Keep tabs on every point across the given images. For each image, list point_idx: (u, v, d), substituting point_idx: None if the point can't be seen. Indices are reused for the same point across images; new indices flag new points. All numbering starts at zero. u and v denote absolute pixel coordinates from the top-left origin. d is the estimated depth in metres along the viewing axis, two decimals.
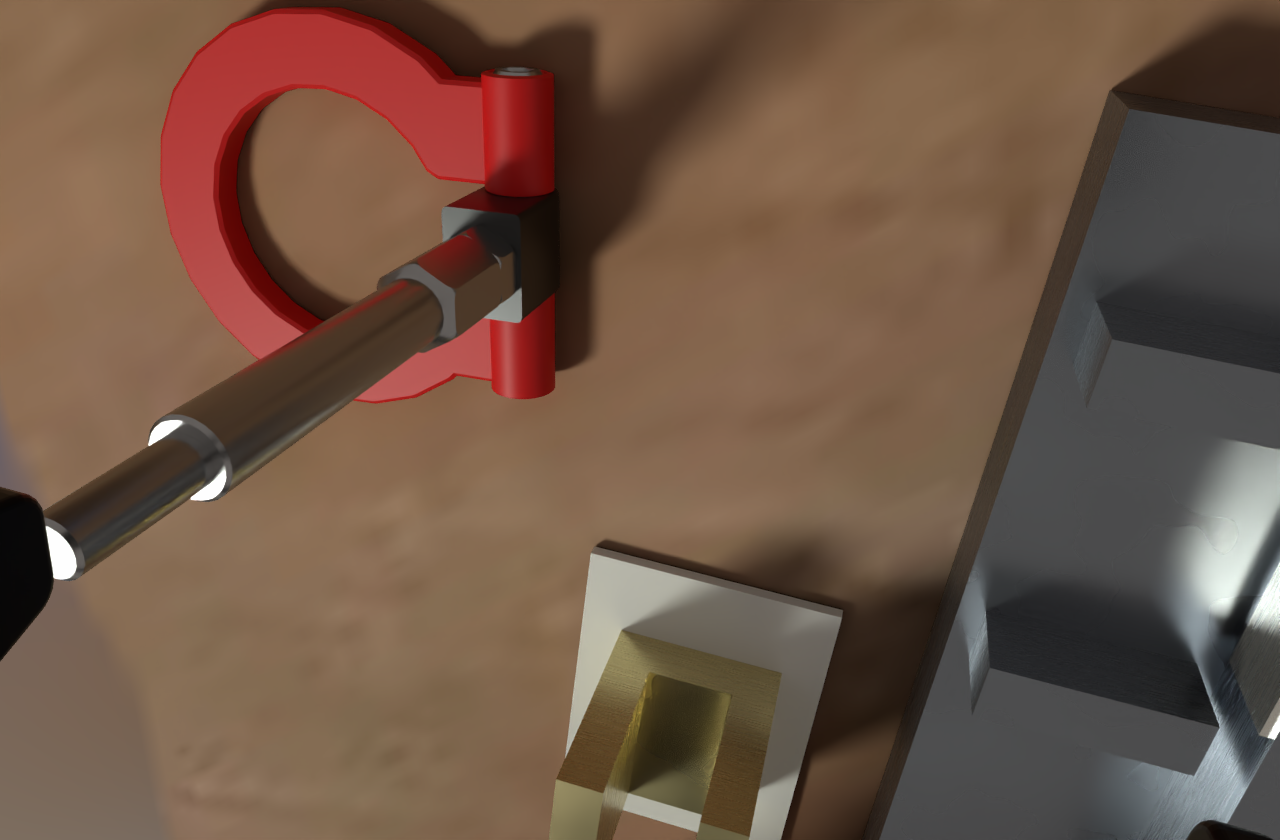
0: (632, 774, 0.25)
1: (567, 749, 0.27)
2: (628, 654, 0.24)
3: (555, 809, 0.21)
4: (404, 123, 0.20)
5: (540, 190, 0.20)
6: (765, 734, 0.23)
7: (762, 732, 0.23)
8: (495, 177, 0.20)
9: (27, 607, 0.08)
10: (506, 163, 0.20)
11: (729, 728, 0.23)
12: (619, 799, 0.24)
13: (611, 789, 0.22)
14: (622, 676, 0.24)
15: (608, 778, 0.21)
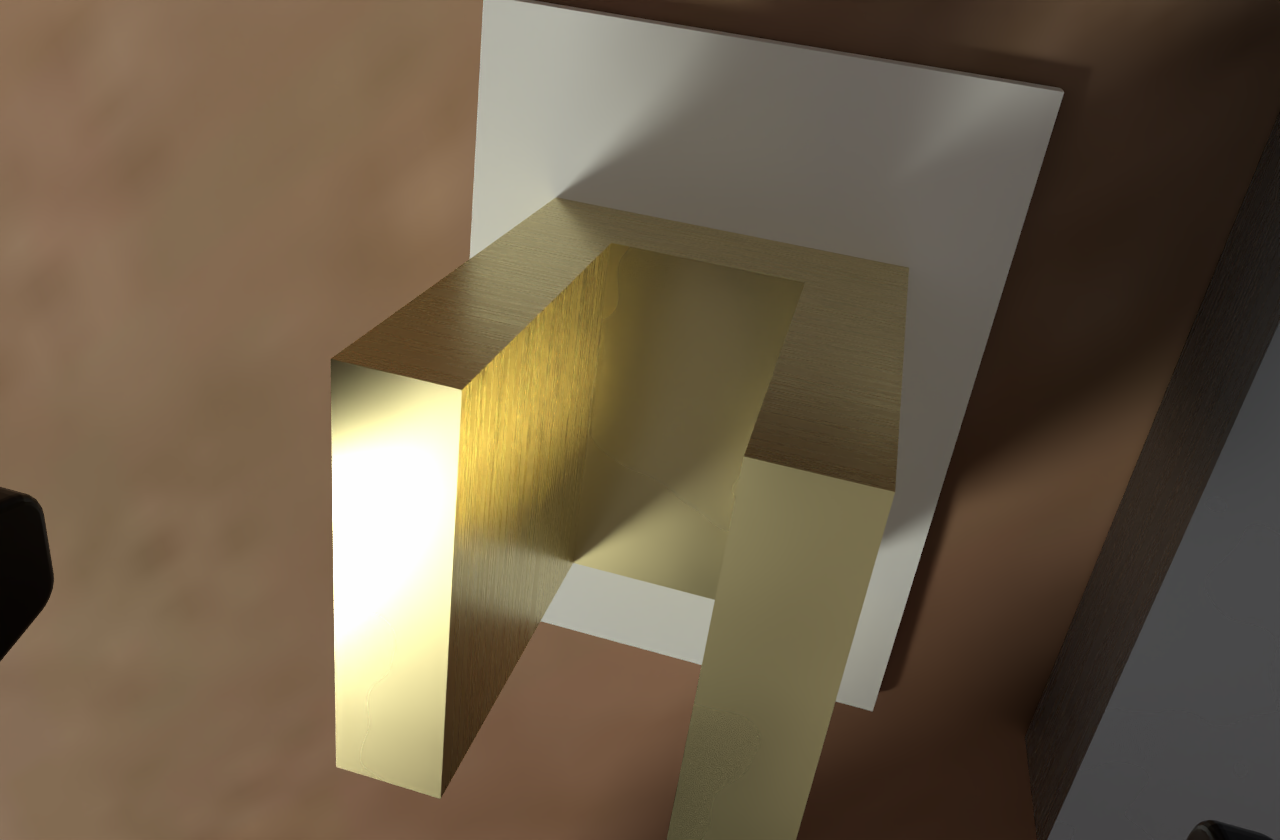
0: (580, 516, 0.12)
1: None
2: (565, 220, 0.11)
3: (339, 462, 0.08)
4: None
5: None
6: (894, 335, 0.09)
7: (886, 331, 0.09)
8: None
9: (27, 607, 0.08)
10: None
11: (805, 322, 0.09)
12: (543, 537, 0.10)
13: (504, 443, 0.08)
14: (548, 242, 0.10)
15: (483, 368, 0.07)
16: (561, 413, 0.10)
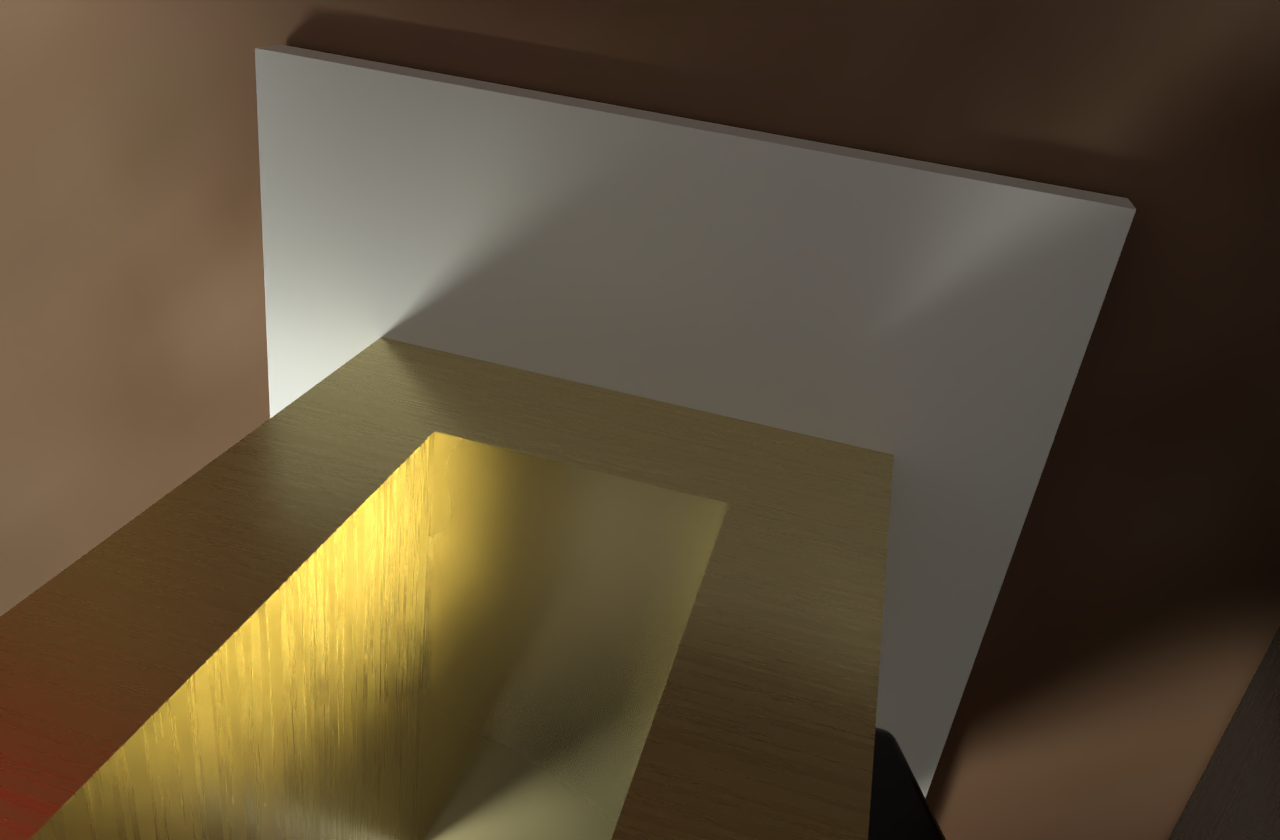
0: (421, 792, 0.08)
1: None
2: (378, 386, 0.07)
3: None
4: None
5: None
6: (863, 629, 0.05)
7: (851, 622, 0.05)
8: None
9: None
10: None
11: (716, 606, 0.05)
12: None
13: None
14: (330, 437, 0.07)
15: (48, 819, 0.04)
16: (344, 712, 0.06)
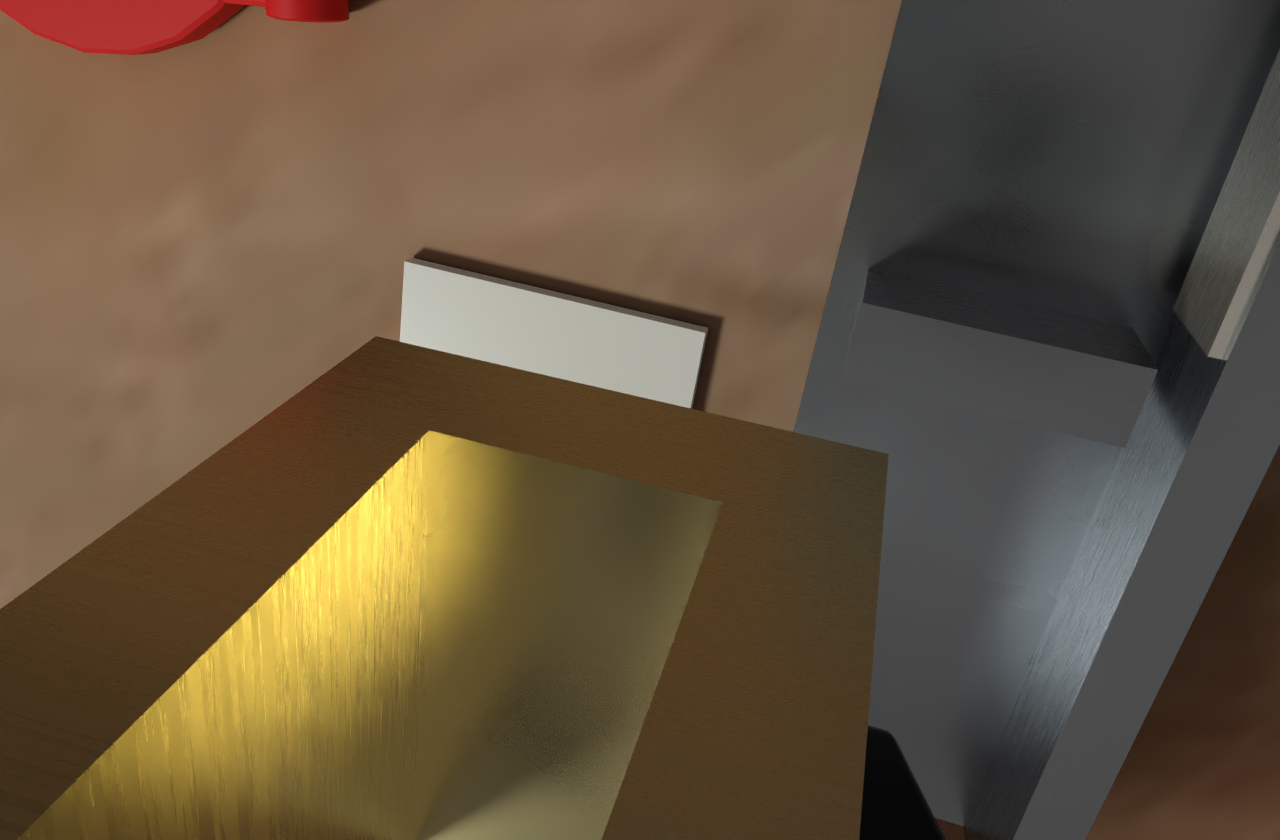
0: (417, 792, 0.08)
1: None
2: (372, 386, 0.07)
3: None
4: None
5: None
6: (857, 629, 0.05)
7: (844, 621, 0.05)
8: None
9: None
10: None
11: (711, 607, 0.05)
12: None
13: None
14: (324, 437, 0.07)
15: (38, 819, 0.04)
16: (338, 711, 0.06)
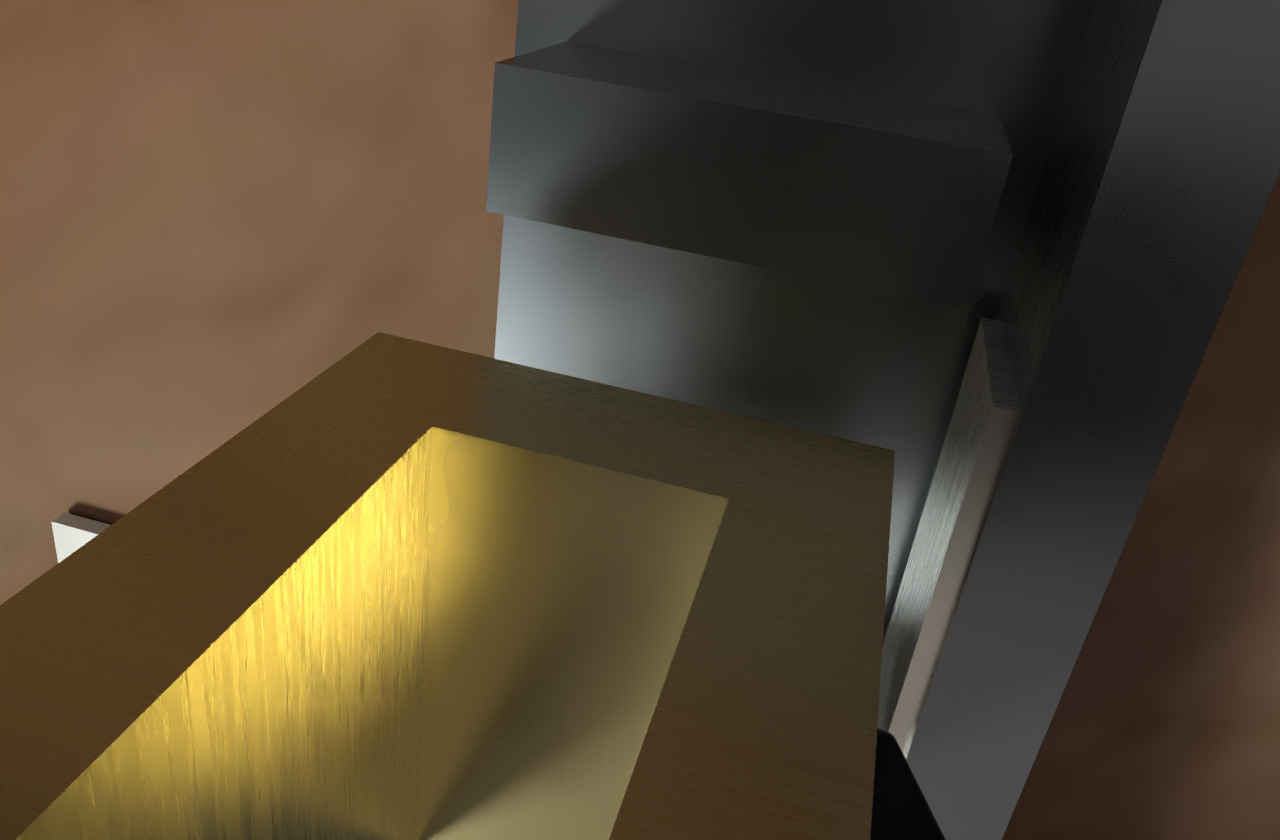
0: (419, 791, 0.08)
1: None
2: (374, 381, 0.07)
3: None
4: None
5: None
6: (865, 625, 0.05)
7: (852, 617, 0.05)
8: None
9: None
10: None
11: (715, 603, 0.05)
12: None
13: None
14: (326, 432, 0.06)
15: (37, 817, 0.04)
16: (340, 709, 0.06)
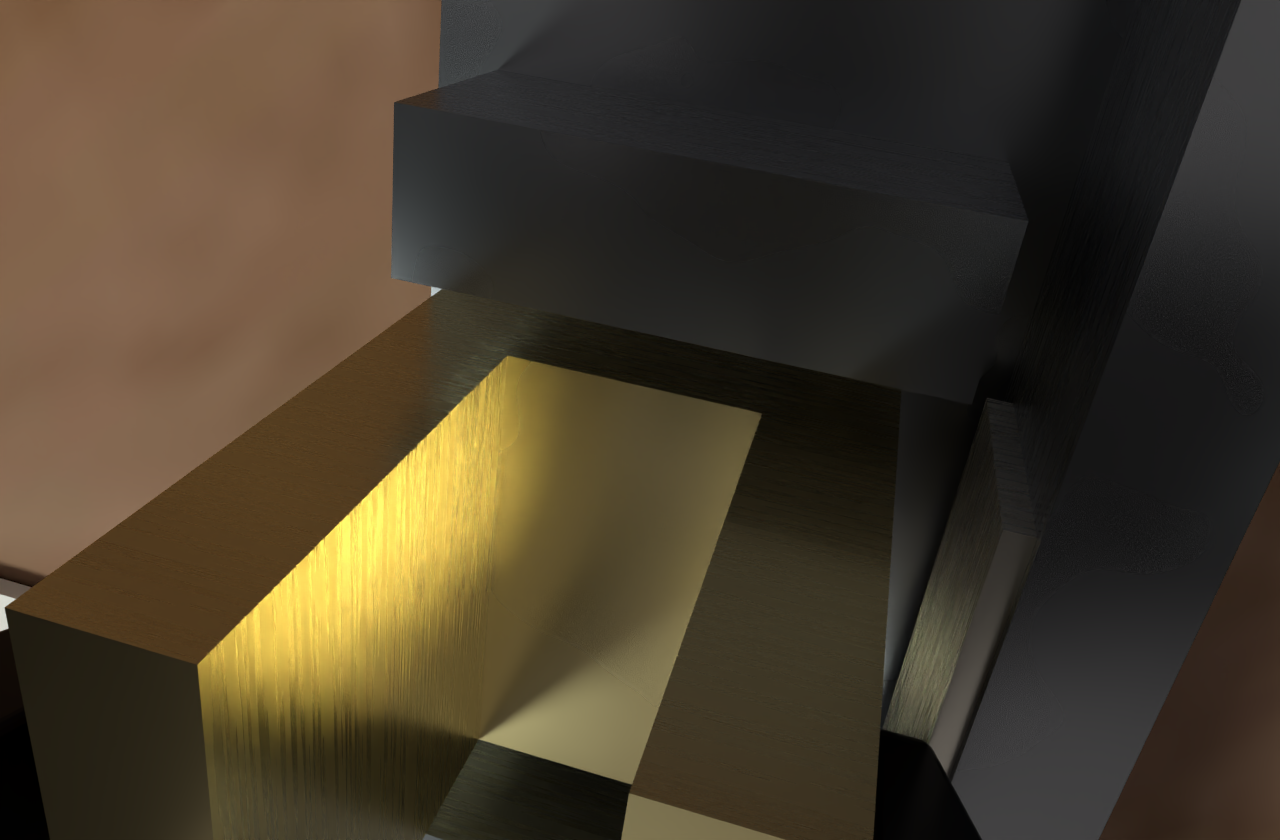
0: (484, 686, 0.09)
1: None
2: (453, 320, 0.08)
3: (40, 746, 0.05)
4: None
5: None
6: (878, 505, 0.07)
7: (868, 500, 0.07)
8: None
9: None
10: None
11: (756, 486, 0.07)
12: (419, 743, 0.08)
13: (318, 681, 0.06)
14: (420, 358, 0.08)
15: (250, 612, 0.05)
16: (434, 590, 0.07)
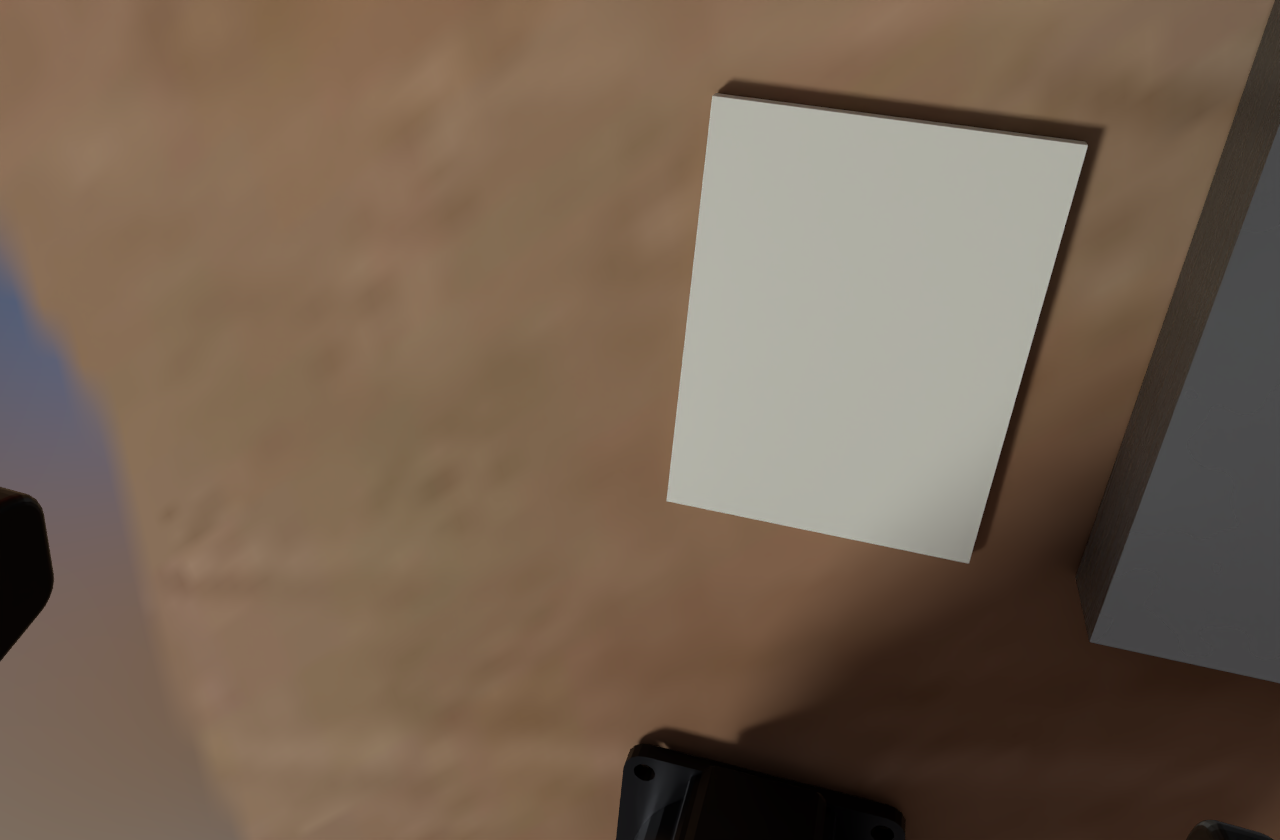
0: None
1: (676, 432, 0.20)
2: None
3: None
4: None
5: None
6: None
7: None
8: None
9: (27, 607, 0.08)
10: None
11: None
12: None
13: None
14: None
15: None
16: None
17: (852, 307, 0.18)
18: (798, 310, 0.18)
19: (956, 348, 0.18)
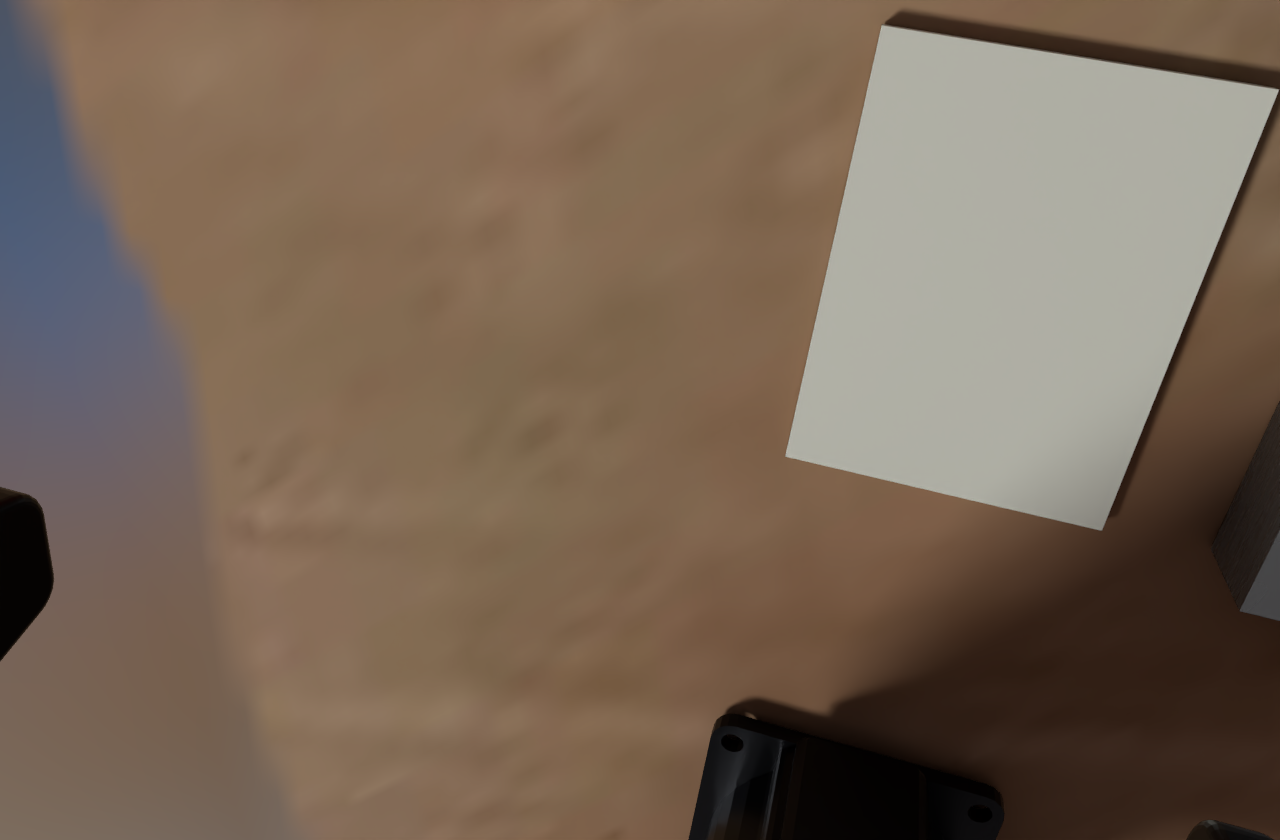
0: None
1: (803, 383, 0.19)
2: None
3: None
4: None
5: None
6: None
7: None
8: None
9: (27, 607, 0.08)
10: None
11: None
12: None
13: None
14: None
15: None
16: None
17: (1007, 256, 0.17)
18: (949, 257, 0.18)
19: (1114, 301, 0.17)
